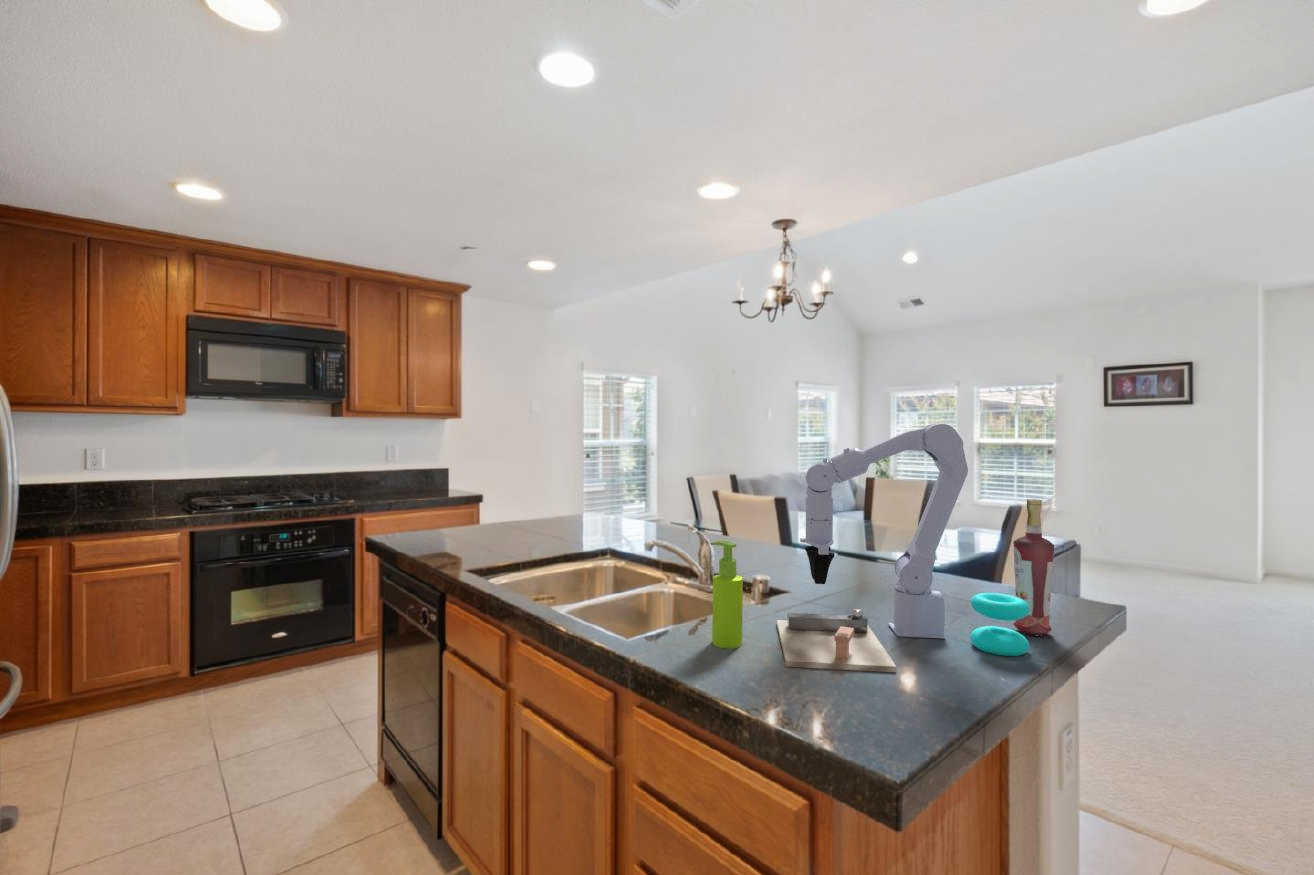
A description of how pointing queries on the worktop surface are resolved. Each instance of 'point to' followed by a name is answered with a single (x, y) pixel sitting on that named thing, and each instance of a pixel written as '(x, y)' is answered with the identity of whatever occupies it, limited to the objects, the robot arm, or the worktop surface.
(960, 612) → the worktop surface
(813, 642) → the hinge board
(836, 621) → the link
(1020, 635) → the donuts
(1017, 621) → the liquor
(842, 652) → the block
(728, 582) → the soap dispenser
